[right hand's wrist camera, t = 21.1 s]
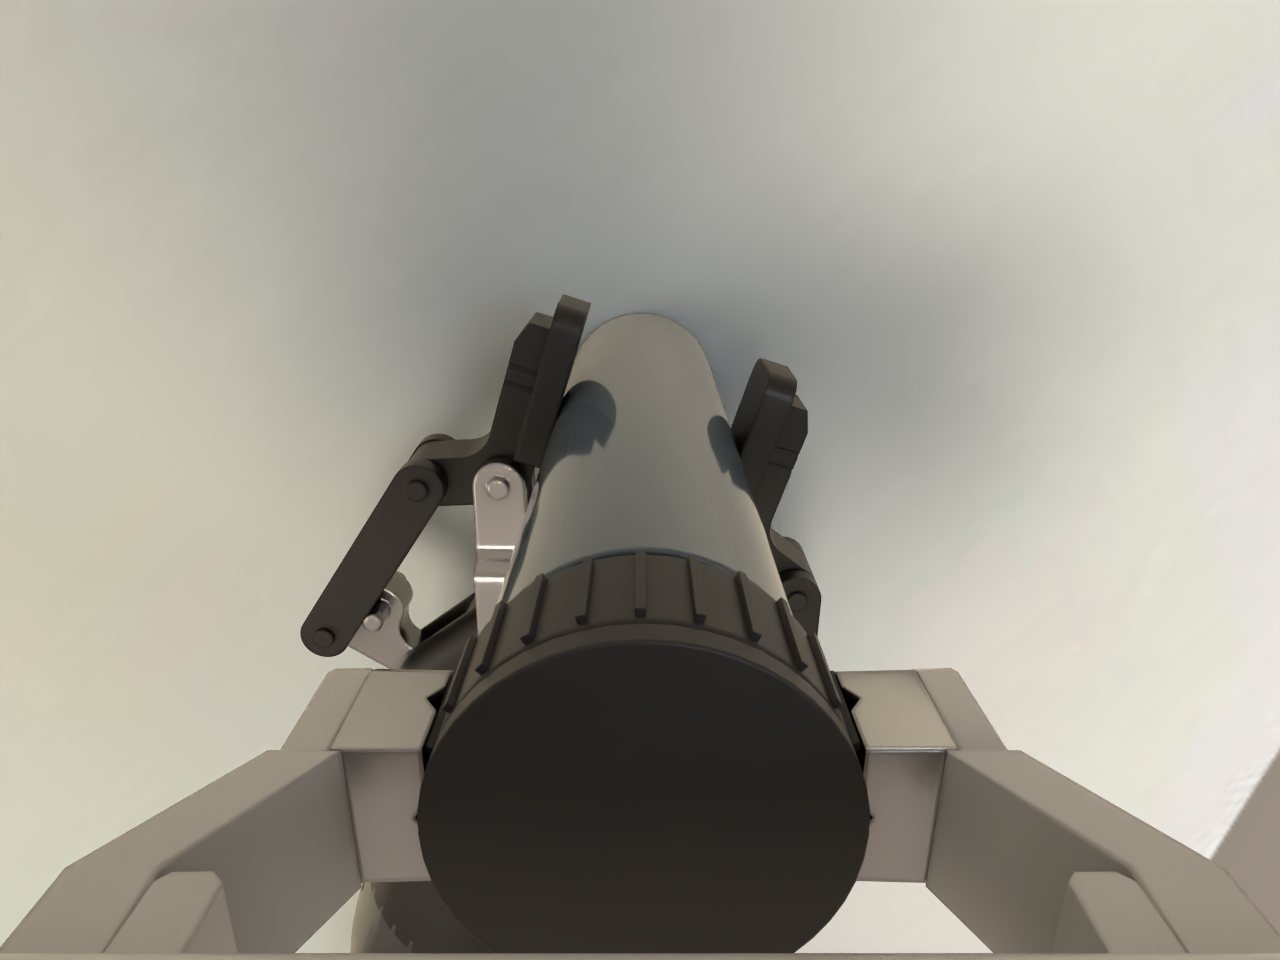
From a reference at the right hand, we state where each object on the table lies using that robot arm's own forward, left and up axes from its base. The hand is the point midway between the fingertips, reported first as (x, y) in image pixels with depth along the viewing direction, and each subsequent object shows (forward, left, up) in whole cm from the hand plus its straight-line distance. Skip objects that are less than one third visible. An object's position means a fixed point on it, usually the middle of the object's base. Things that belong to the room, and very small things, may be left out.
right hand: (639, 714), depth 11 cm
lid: (0, 0, +2) cm, 2 cm away
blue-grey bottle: (0, 0, -17) cm, 17 cm away
